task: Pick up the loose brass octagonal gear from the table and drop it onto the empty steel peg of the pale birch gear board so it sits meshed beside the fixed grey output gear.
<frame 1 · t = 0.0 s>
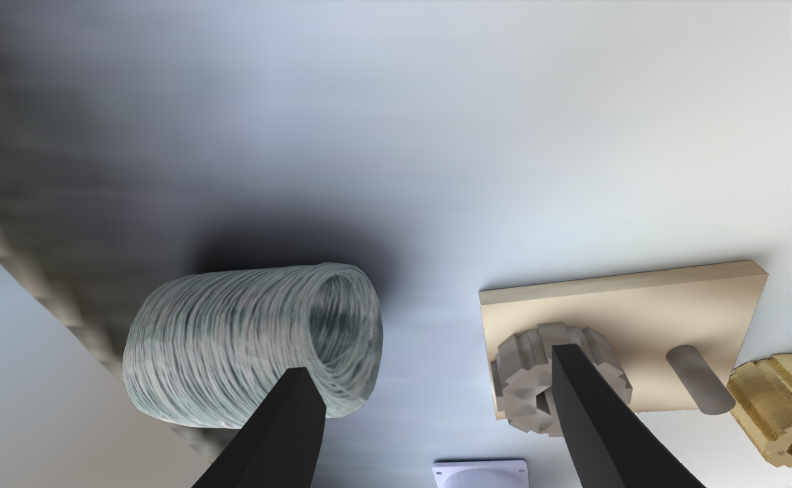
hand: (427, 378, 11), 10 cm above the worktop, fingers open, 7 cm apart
brass gear: (768, 383, 24), on the worktop
gear board: (599, 344, 23), on the worktop
spool: (285, 292, 24), on the worktop
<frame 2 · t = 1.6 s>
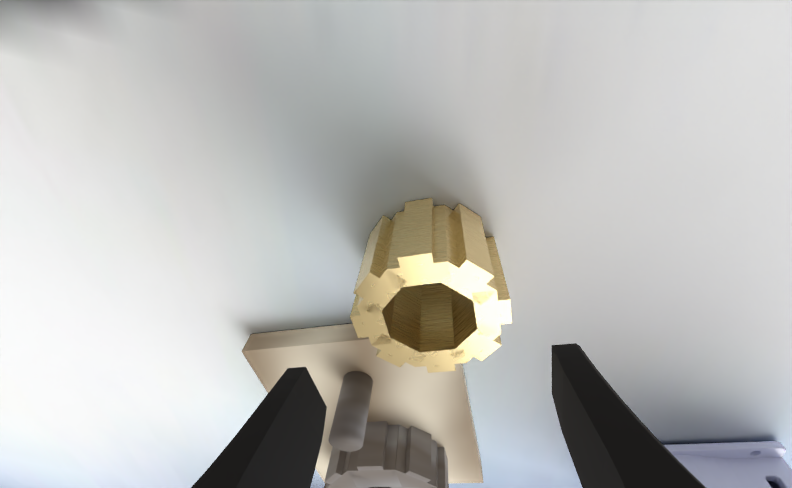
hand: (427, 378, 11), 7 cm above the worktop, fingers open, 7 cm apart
brass gear: (430, 256, 16), on the worktop
gear board: (379, 406, 23), on the worktop
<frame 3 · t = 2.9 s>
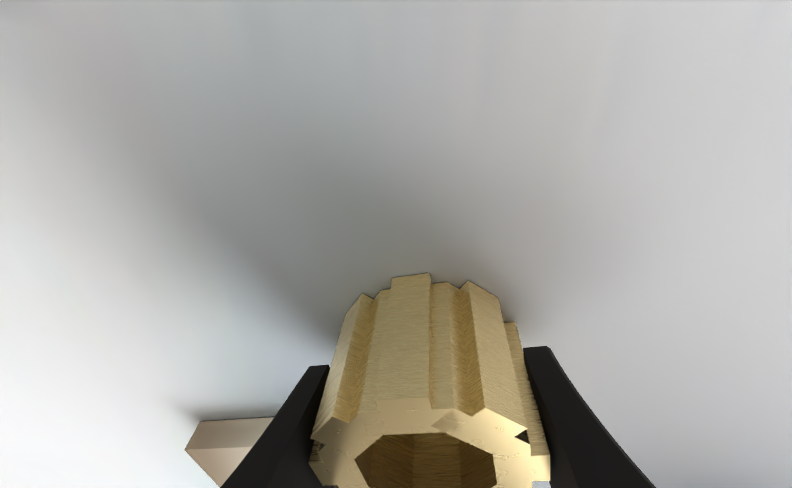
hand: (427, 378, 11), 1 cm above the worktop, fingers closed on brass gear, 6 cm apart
brass gear: (427, 342, 12), on the worktop, touching gripper
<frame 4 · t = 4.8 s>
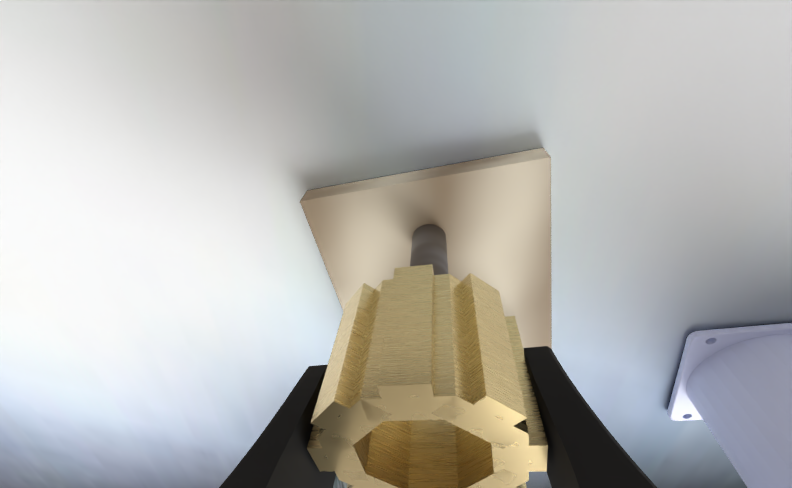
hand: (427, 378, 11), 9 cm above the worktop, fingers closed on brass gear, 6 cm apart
brass gear: (427, 334, 12), point 7 cm above the worktop, touching gripper
gear board: (441, 287, 21), on the worktop
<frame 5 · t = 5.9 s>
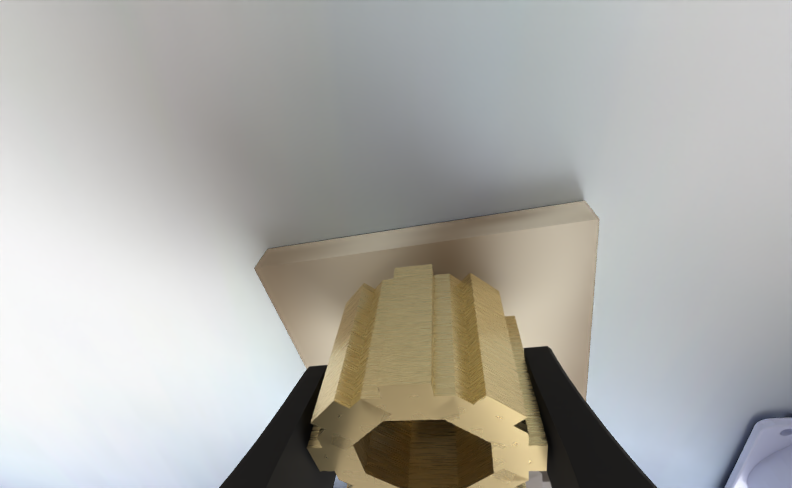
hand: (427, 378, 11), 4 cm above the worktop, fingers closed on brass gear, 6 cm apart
brass gear: (427, 334, 12), point 2 cm above the worktop, touching gripper
gear board: (444, 362, 16), on the worktop
when the fingers open (4 cm above the worktop, at t = 6.9 s): brass gear drops 1 cm, resting on gear board.
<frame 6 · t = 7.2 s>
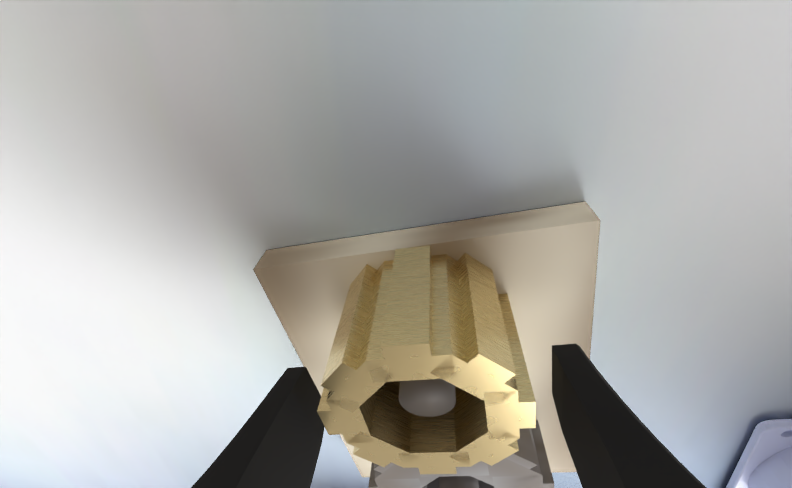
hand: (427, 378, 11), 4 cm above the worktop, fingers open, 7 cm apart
brass gear: (426, 313, 13), point 1 cm above the worktop, touching gear board
gear board: (444, 364, 16), on the worktop
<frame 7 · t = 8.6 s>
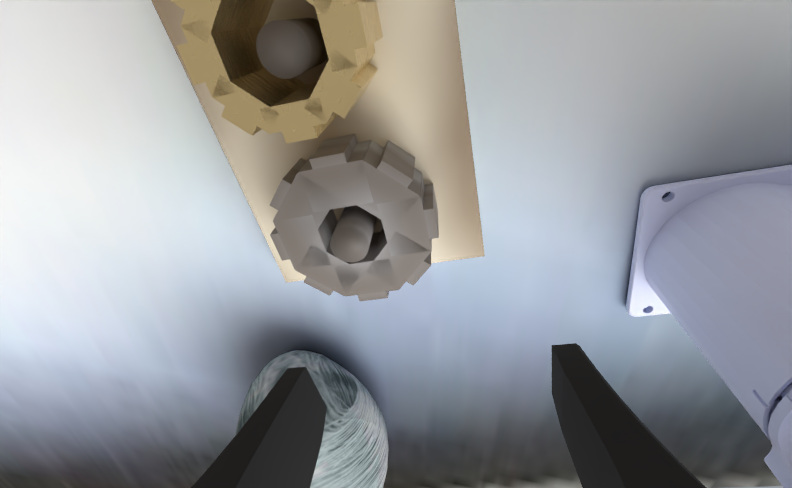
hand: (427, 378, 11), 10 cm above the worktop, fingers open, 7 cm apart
brass gear: (308, 36, 14), point 1 cm above the worktop, touching gear board
gear board: (347, 135, 17), on the worktop
spool: (332, 393, 29), on the worktop
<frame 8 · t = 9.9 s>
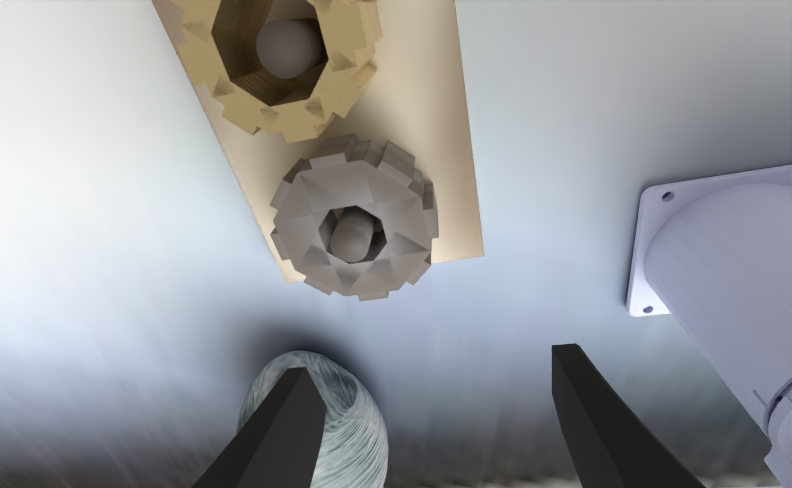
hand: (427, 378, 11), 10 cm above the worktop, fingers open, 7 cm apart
brass gear: (308, 36, 14), point 1 cm above the worktop, touching gear board
gear board: (347, 135, 17), on the worktop
spool: (332, 393, 28), on the worktop
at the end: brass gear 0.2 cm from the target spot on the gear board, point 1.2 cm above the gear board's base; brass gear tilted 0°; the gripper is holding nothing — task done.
